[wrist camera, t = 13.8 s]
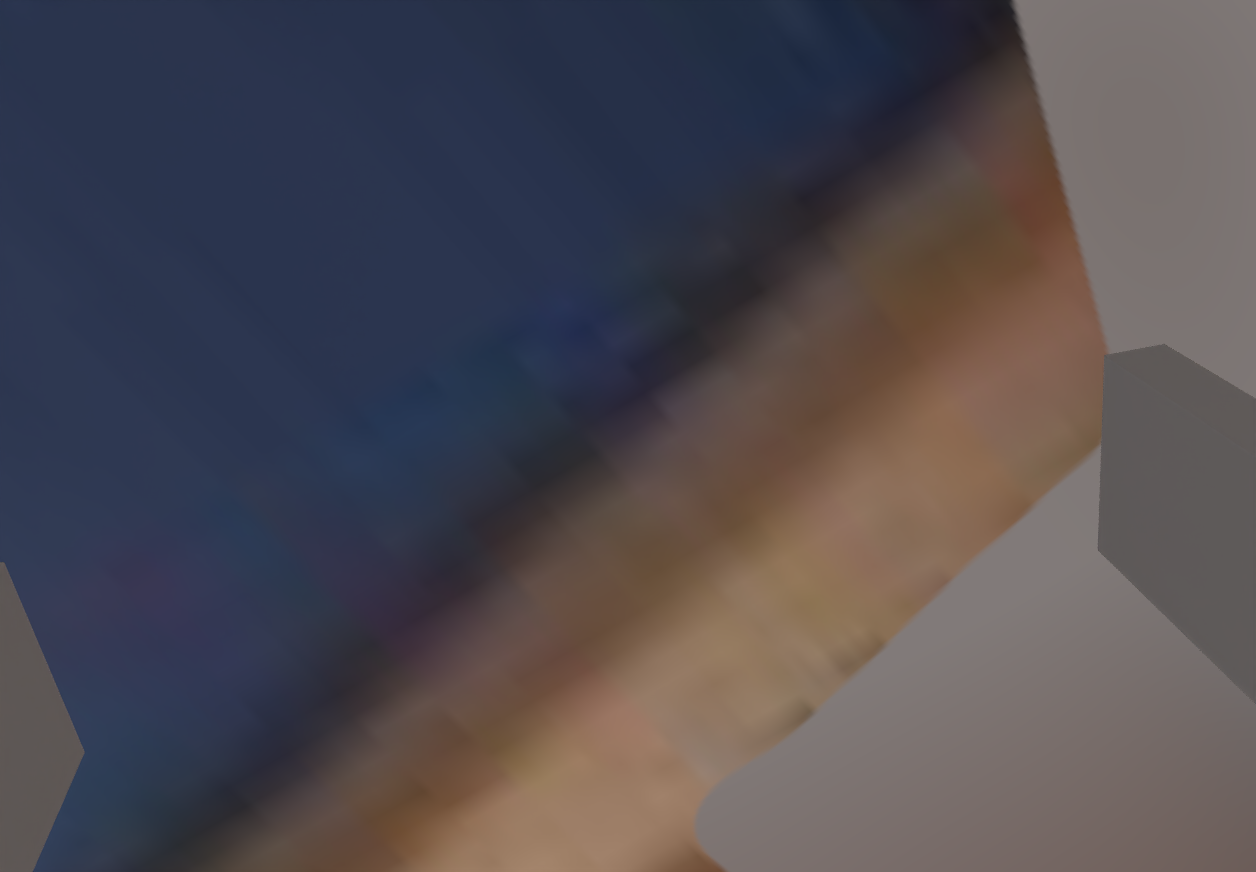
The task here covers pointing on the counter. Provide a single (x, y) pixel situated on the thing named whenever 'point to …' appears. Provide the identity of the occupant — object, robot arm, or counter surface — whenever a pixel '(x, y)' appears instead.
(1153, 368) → the robot arm
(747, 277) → the counter surface
